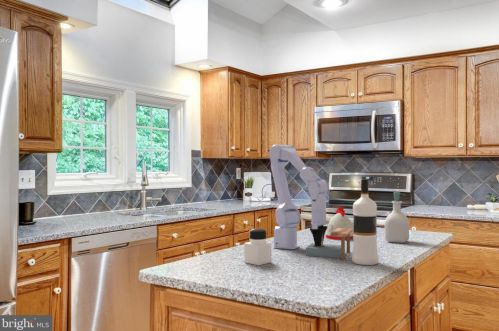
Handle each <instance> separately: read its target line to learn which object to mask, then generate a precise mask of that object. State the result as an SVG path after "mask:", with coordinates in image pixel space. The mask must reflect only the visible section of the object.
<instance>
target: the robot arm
mask: <svg viewBox="0 0 499 331" xmlns="http://www.w3.org/2000/svg"><path fill="white" fill-rule="evenodd" d="M268 156H269V160H270V169H271V173H272V174H271V175H272V177H273V183H274V186H275V191H276V197H277V201H278V206H277V208H276V209H275V221H276V224H277V226H275V227H274V231H273V249H282V250H283V249H286V250H297V248H299V247H300V246H301V245H299V244H298V226H299V224H301V220H302V215H301V213H300V212H299V210H298V207H297V206H296V204H294V203H293V201H292V197H291V193H290V188H289V185H288V184H289V183H288V180H287V176H286V171H285V166H286V165H288V164H289V163H291V165H292V166H293V167H295V169H296V170H297V171H298V172H299V177H300V178H301V180H302V181H303V182H304V183H305V184H306V186H307V190H308V192H309V195H310V199H311V221H310V223H311V227H310V228H309V230H310V233H311V235H312V238H313V243H315V246H321V242H322V235H323V242H324V240H325V237H326V230H327V228H328V226H327V224H329V222H330V221H327V194H328V192H329V190H330V186H329V182H328V180H325V179H322V178H321V177H320V175H318V174H317V172H315V171H314V168H313V167H310V166H306V164H305V163H304V162H303V160H302V159H301V157H300V156H299V155H298V153H297V149H296V148H295V147H294V145H292V144H277V143H276V144H273V145H272V146H271V147H270V148H269V151H268Z"/></svg>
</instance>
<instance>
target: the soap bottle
mask: <svg viewBox="0 0 499 331" xmlns="http://www.w3.org/2000/svg"><path fill="white" fill-rule="evenodd" d="M401 195H403V196H406V194H404V193H401V191H393V198H394V200H392V201H391V203H392V211H391V213H389V214H388V215H387V216H386V218H385V220H384V239H385V241H386V242H387V243H396V244H405V243H407V242H408V241H409V239H410V221H409V218H408V217H407V215H405V214H404V213H403V212H402V210H401V209H402V208H401V207H402V206H401V204H402V203H403V201H401V200H400V196H401Z"/></svg>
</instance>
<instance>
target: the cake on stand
mask: <svg viewBox="0 0 499 331" xmlns="http://www.w3.org/2000/svg"><path fill="white" fill-rule="evenodd" d="M345 212H346V210H344V207H342V206H338V208H336V210H335V213H336V214H335V215H333V216H332V217H331V218H330V220H329V221H328V222H329V224H326V226H328V228H327V230H326V232H325V238H326V239H328V240H335V241H341V236H330V233H331V232H333V231H334V230H335V229H337V228H347V229H352V232H351V233H350V241H352V240H353V234H354V222H352V221H351V220H350V218H349V216H347V215H346V213H345ZM345 241H347V237H345Z"/></svg>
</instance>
